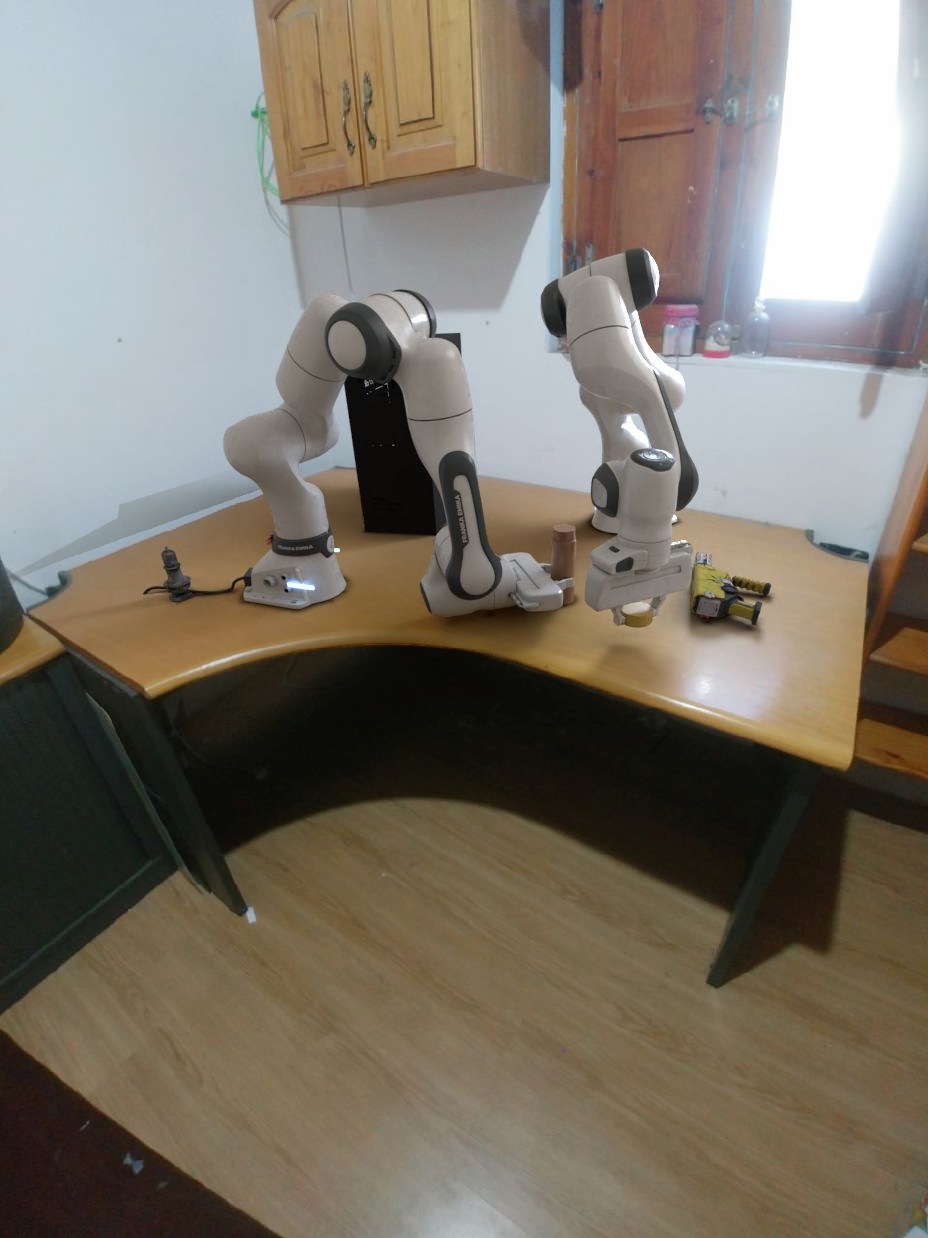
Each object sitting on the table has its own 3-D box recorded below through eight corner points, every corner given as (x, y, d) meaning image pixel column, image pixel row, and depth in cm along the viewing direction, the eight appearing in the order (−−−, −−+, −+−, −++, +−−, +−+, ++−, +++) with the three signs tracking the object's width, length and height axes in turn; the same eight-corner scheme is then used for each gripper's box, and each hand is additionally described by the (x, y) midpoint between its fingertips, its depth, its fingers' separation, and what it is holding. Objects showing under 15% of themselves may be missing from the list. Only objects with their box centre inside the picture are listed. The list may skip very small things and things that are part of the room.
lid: (623, 609, 112) (624, 598, 111) (655, 615, 110) (656, 604, 109) (615, 624, 108) (616, 612, 107) (647, 630, 106) (649, 619, 104)
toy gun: (769, 561, 128) (696, 549, 132) (782, 610, 108) (695, 594, 112) (763, 581, 130) (691, 569, 134) (774, 633, 110) (689, 616, 114)
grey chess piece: (185, 602, 132) (169, 552, 126) (162, 601, 134) (144, 551, 128) (200, 590, 137) (185, 541, 131) (177, 588, 139) (162, 540, 133)
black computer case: (436, 534, 159) (422, 349, 137) (364, 531, 164) (339, 351, 141) (468, 489, 191) (460, 332, 168) (407, 487, 195) (391, 335, 173)
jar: (575, 595, 126) (578, 524, 119) (571, 606, 123) (574, 533, 115) (552, 592, 128) (554, 522, 120) (547, 603, 124) (549, 531, 116)
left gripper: (518, 594, 110) (589, 582, 112) (486, 551, 127) (548, 542, 130) (519, 624, 113) (587, 611, 115) (487, 578, 130) (548, 568, 133)
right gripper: (681, 531, 108) (671, 600, 115) (581, 553, 102) (577, 624, 109) (705, 544, 103) (694, 614, 109) (602, 567, 96) (597, 640, 103)
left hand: (566, 574), depth 123 cm, fingers closed on jar, 5 cm apart
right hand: (635, 619), depth 109 cm, fingers closed on lid, 5 cm apart
